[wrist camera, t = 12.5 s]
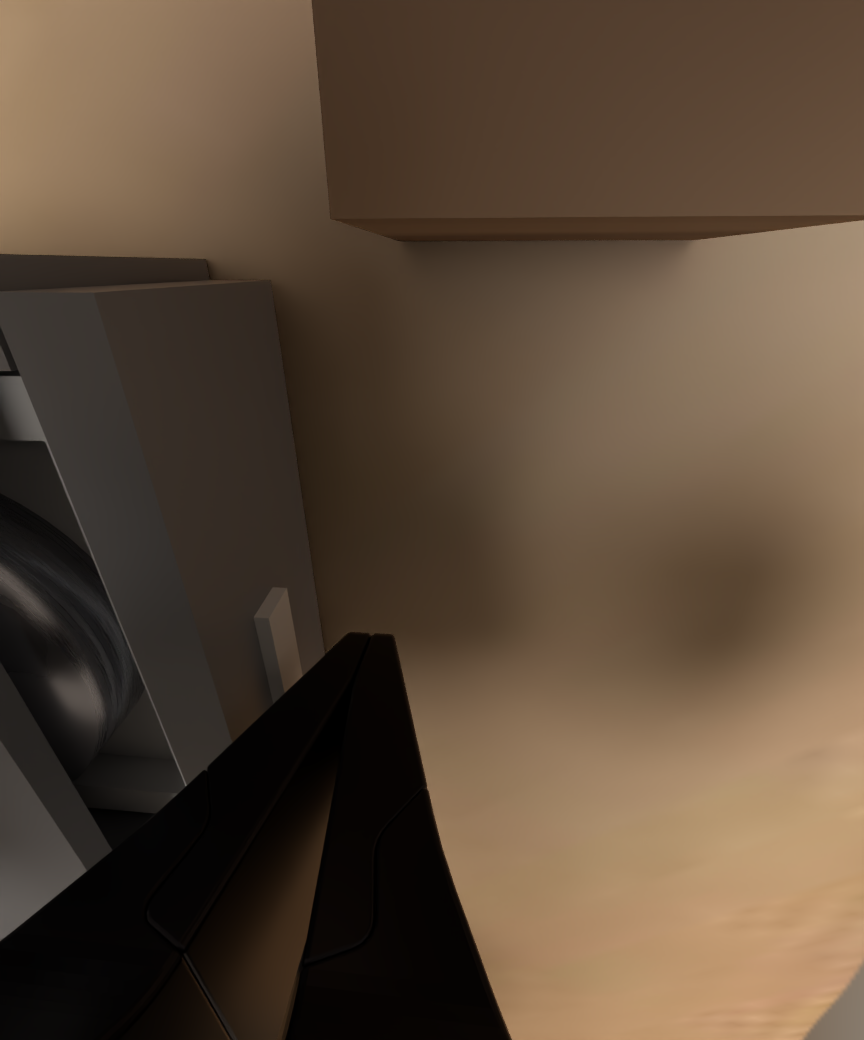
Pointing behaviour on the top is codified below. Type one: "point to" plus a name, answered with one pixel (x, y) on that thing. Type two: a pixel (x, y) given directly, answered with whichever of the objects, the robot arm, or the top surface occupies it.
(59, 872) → the housing
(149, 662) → the tray
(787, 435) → the top surface
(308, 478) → the top surface
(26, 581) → the disc
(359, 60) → the walnut block
